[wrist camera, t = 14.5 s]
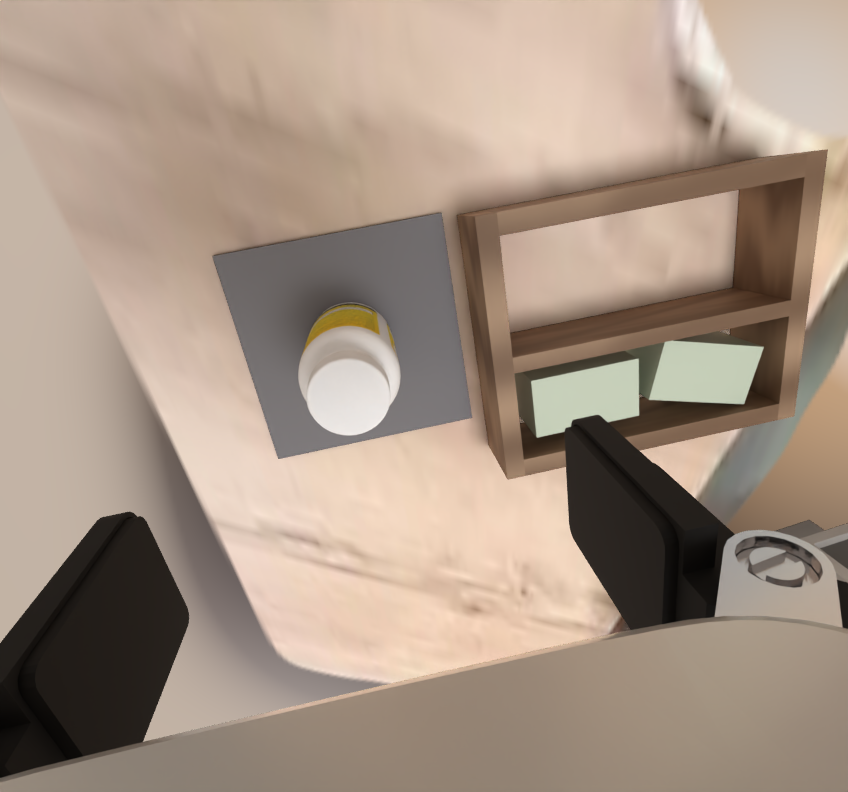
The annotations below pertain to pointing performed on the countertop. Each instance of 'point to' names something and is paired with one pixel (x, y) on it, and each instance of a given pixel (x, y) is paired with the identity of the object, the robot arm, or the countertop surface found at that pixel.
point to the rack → (647, 325)
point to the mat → (341, 283)
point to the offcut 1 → (578, 392)
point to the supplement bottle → (349, 369)
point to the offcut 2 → (698, 369)
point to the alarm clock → (825, 543)
